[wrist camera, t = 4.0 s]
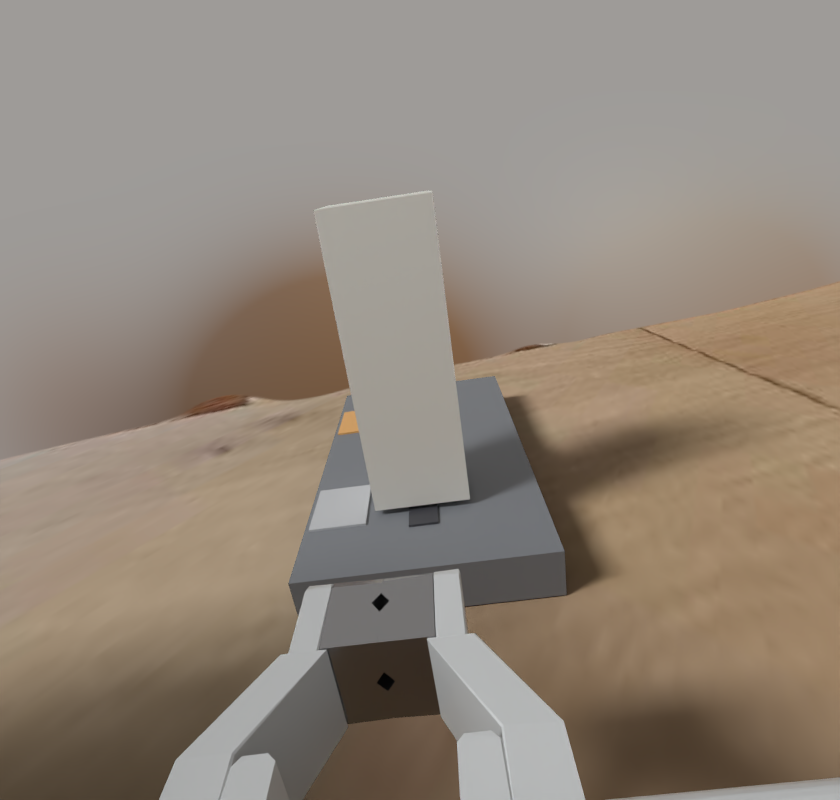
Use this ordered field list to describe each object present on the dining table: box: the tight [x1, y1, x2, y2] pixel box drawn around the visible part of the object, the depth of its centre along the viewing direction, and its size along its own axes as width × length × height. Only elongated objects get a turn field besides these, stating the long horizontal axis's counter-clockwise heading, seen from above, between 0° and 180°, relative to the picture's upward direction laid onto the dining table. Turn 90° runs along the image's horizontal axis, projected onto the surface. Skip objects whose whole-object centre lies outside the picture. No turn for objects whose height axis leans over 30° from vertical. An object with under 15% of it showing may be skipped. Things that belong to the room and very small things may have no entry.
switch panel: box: [288, 376, 567, 616], centre depth 28 cm, size 18×10×2 cm, turn 0°
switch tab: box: [313, 190, 470, 511], centre depth 21 cm, size 3×4×12 cm
